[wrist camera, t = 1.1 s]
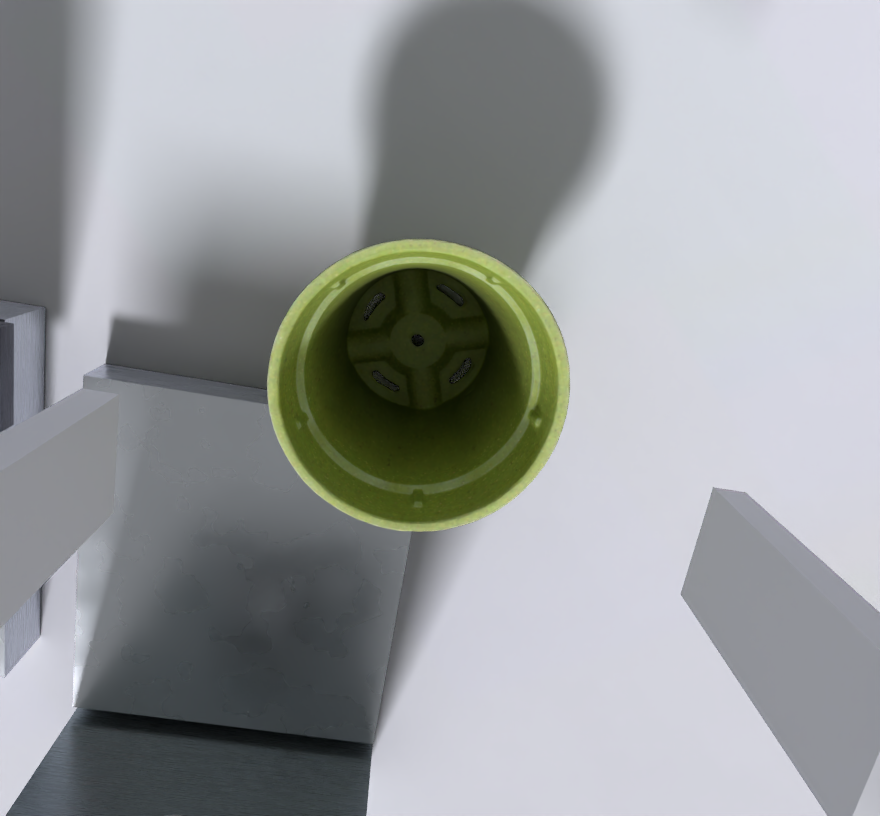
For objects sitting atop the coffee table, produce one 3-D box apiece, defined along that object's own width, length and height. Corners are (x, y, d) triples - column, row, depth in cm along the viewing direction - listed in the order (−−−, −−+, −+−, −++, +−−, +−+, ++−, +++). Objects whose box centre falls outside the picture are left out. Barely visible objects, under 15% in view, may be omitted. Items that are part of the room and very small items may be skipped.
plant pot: (573, 312, 30) (632, 358, 22) (444, 481, 32) (453, 582, 24) (391, 177, 28) (379, 171, 20) (267, 366, 30) (209, 431, 22)
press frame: (-30, 294, 29) (-957, 504, 9) (437, 372, 30) (468, 690, 11) (-24, 747, 35) (-567, 1424, 16) (361, 792, 37) (296, 1463, 17)
